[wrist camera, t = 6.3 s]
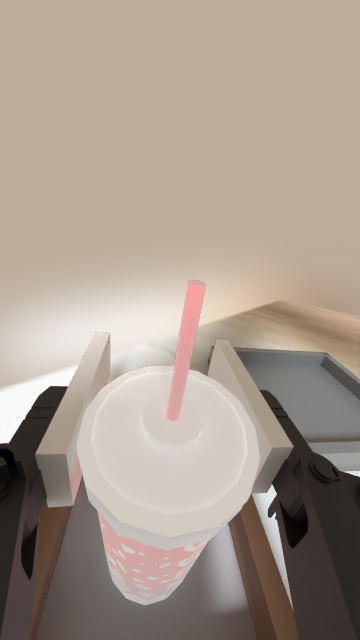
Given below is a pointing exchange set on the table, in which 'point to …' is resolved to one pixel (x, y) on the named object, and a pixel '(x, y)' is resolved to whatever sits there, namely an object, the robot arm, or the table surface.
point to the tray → (312, 398)
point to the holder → (253, 557)
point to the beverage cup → (165, 465)
